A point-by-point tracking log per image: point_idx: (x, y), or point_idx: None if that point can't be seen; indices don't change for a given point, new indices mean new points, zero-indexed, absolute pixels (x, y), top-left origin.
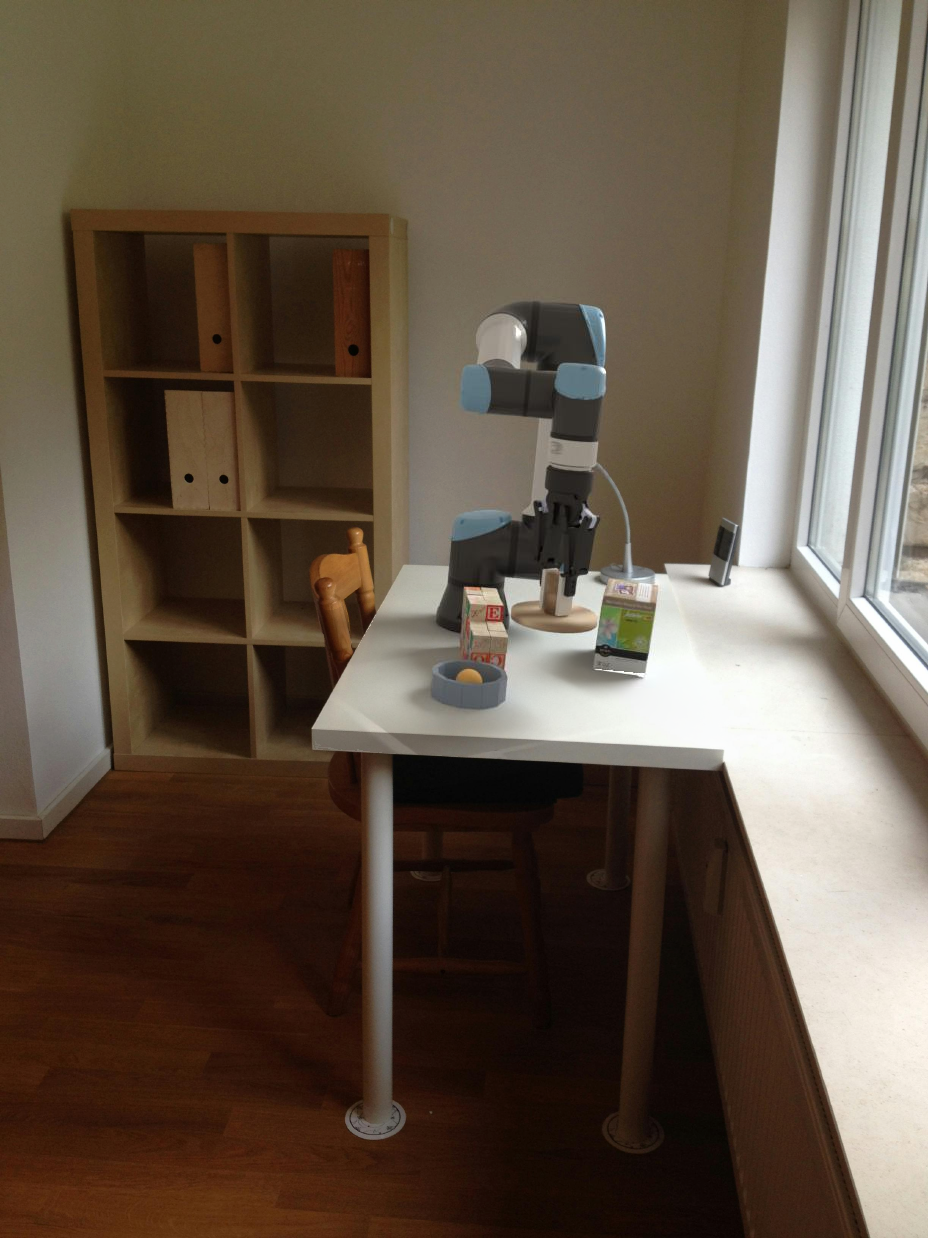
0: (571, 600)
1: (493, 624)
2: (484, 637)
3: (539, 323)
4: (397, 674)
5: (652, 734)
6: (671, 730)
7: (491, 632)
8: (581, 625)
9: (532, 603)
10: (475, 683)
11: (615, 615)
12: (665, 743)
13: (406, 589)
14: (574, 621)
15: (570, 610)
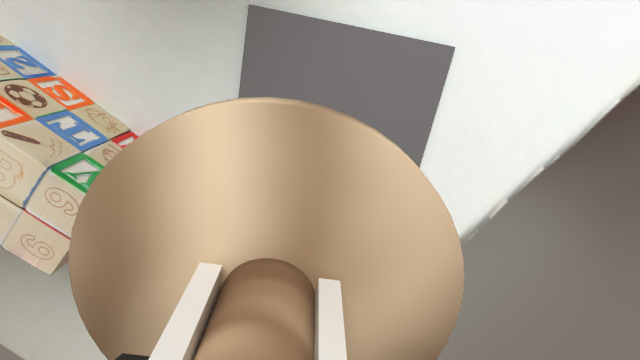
0: (342, 335)
1: None
2: (68, 250)
3: None
4: (18, 279)
5: (546, 89)
6: (572, 27)
7: (42, 215)
8: (451, 331)
9: (110, 278)
10: None
11: None
12: (589, 107)
13: None
14: (401, 318)
15: (339, 296)
